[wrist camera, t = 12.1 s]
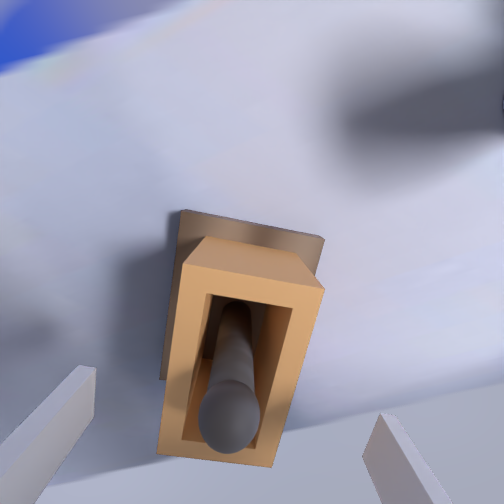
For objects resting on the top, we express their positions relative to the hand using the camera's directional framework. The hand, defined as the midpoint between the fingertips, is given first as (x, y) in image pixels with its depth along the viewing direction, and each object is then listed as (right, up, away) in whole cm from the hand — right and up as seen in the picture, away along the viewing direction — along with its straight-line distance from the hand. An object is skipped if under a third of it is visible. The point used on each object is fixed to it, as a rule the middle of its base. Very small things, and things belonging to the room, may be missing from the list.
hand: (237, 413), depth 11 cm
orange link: (-1, +2, +9) cm, 9 cm away
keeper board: (-1, +3, +10) cm, 11 cm away
